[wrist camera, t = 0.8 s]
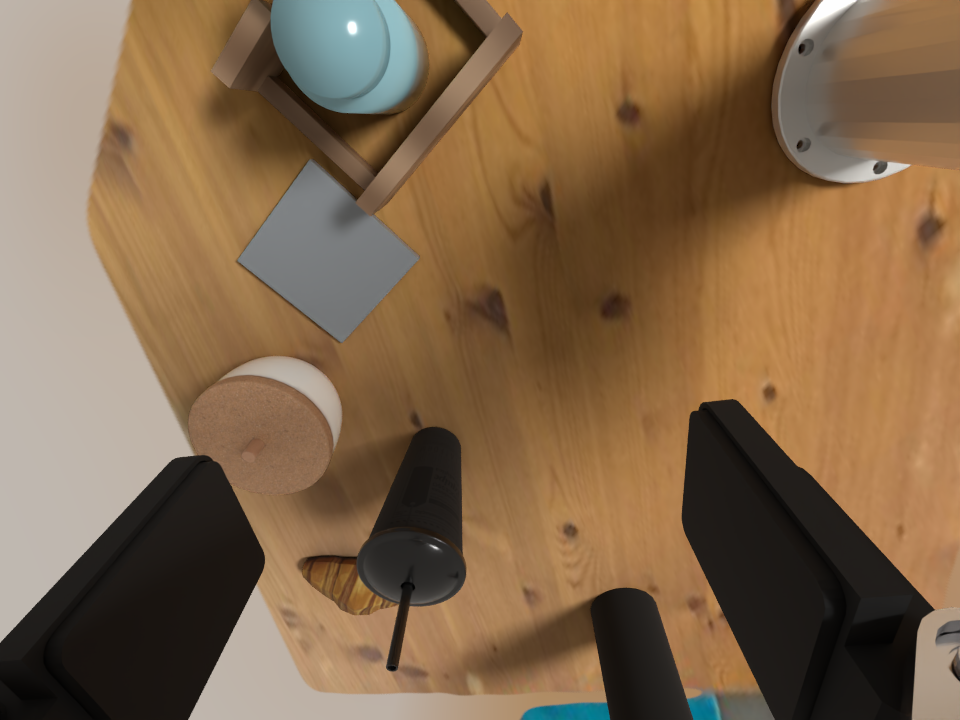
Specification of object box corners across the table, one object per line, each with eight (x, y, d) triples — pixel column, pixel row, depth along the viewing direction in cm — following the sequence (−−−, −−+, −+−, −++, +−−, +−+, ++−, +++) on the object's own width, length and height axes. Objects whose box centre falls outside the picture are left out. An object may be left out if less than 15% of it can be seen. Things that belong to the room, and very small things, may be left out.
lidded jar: (376, 422, 43) (347, 495, 35) (276, 448, 45) (226, 523, 37) (324, 320, 39) (275, 376, 30) (215, 354, 40) (141, 415, 32)
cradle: (377, -126, 26) (351, -176, 21) (519, 44, 29) (522, 31, 25) (252, 78, 31) (210, 71, 26) (387, 203, 34) (370, 216, 30)
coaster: (312, 158, 33) (309, 159, 32) (420, 256, 36) (418, 259, 35) (240, 258, 36) (237, 260, 36) (343, 340, 39) (341, 343, 39)
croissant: (305, 577, 54) (288, 618, 50) (308, 537, 51) (289, 577, 46) (419, 597, 55) (412, 640, 51) (429, 560, 52) (422, 601, 47)
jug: (331, -70, 27) (235, -176, 17) (448, 60, 30) (422, 31, 20) (276, 22, 29) (163, -27, 19) (390, 134, 32) (341, 142, 22)
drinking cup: (379, 447, 44) (298, 665, 27) (431, 399, 42) (380, 607, 24) (439, 490, 47) (401, 718, 29) (492, 448, 44) (486, 671, 26)
